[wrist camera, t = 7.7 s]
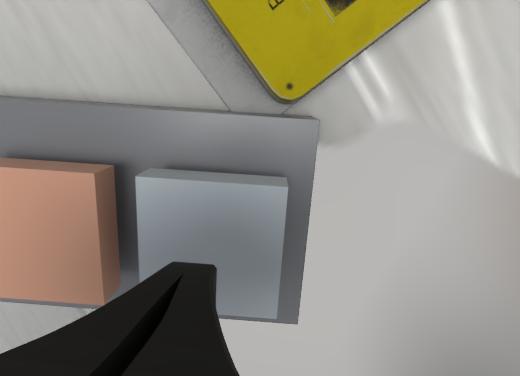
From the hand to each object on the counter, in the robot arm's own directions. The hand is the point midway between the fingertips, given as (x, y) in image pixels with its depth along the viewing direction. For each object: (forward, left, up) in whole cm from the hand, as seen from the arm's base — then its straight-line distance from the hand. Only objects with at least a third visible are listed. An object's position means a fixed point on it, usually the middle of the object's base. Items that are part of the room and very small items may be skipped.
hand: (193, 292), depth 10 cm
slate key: (0, 0, -7) cm, 7 cm away
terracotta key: (0, +7, -7) cm, 10 cm away
